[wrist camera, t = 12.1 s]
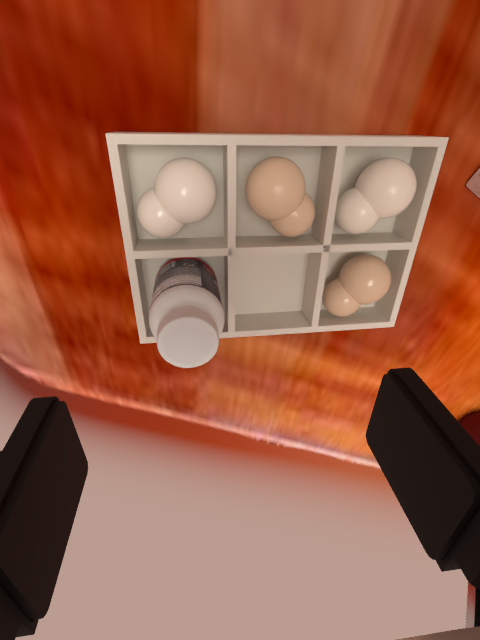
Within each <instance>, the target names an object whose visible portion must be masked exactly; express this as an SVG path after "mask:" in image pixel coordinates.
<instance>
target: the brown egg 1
mask: <svg viewBox="0 0 480 640" xmlns="http://www.w3.org/2000/svg"><path fill="white" fill-rule="evenodd" d="M305 190H306V184H305V179H304V176H303V173H302V171H301V170H300V168H299V167H298V166H297V165H296V164H295V163H294V162H293V161H291V160H289V159H287V158H284V157H279V156H274V157H269V158H266V159H264V160H262V161H260V162H259V163H258V164H256V165H255V166H254V168H253V169H252V170H251V172H250V173H249V176H248V178H247V181H246V188H245V192H246V198H247V201H248V204H249V206H250V207H251V209H252V210H253V211H254V212H255V213H256V214H257V215H258V216H260V217H261V218H264V219H267V220H269V221H270V223H271V225H272V227H273V229H274V230H275V231H276V232H278V233H279V234H280V235H283V236H286V237H296V236H299V235H301V234H303V233H305V232H306V231H307V230H308V229H309V228H310V227H311V225H312V223H313V221H314V218H315V205H314V202H313V200H312V199H311V197H310V196H309V195H308V194H307V193H305Z"/></svg>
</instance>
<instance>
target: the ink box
mask: <svg viewBox="0 0 480 640" xmlns="http://www.w3.org/2000/svg"><path fill="white" fill-rule="evenodd" d="M466 187H467V188H468V189H470V190H471V191H472V192H473V193H474V194H475V195H476V196H477V197H478V198H479V199H480V168H479V169H478V170H477V171H476V173H475V174H474V175H473V176H472V177H471V179H470V180H469V181H468V182H467V184H466Z"/></svg>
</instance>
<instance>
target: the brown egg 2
mask: <svg viewBox="0 0 480 640" xmlns="http://www.w3.org/2000/svg"><path fill="white" fill-rule="evenodd" d="M390 284H391V272H390V269H389V267H388V266H387V264H386V263H385V262H384V261H383V260H382V259H380V258H379V257H377V256H374V255H368V254H363V255H358V256H355V257H353V258H351V259H350V260H348V261H347V262H346V263H345V264H344V265H343V267H342V268H341V270H340V273H339V277H338V278H336V279H333V280H332V281H330V282H329V283H328V284H327V285H326V286H325V288H324V290H323V296H322V302H323V305H324V307H325V308H326V310H327V311H328V312H330V313H331V314H333V315H335V316H340V317H345V316H349V315H352V314H353V313H355V312H356V311H357V310H358V309H359V308H360V306H361V304H363V305H365V304H371V303H374V302H376V301H378V300H380V299H381V298H382V297H383V296H384V295H385V294H386V293H387V291H388V290H389V288H390Z"/></svg>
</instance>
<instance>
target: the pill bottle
mask: <svg viewBox="0 0 480 640" xmlns="http://www.w3.org/2000/svg"><path fill="white" fill-rule="evenodd" d="M224 320H225V319H224V310H223V306H222V302H221V296H220V292H219V287H218V282H217V278H216V275H215V273H214V271H213V269H212V267H211V266H210V265H209V264H208V263H207V262H206V261H204V260H203V259H201V258H199V257H180V258H170V259H169V260H167V261H166V262H165V263H164V264H163V265H162V266H161V267H160V269H159V270H158V273H157V276H156V279H155V284H154V289H153V295H152V300H151V306H150V311H149V325H150V329H151V332H152V334H153V336H154V337H155V338H156V340H157V348H158V351H159V353H160V355H161V356H162V357H163V358H164V359H165V360H166V361H167V362H169V363H170V364H172V365H174V366H177V367H182V368H193V367H197V366H200V365H203V364H205V363H206V362H208V361H209V360H210V359H211V358H212V357H213V356H214V355H215V353H216V352H217V349H218V345H219V336H220V335H221V333H222V330H223V327H224Z"/></svg>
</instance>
